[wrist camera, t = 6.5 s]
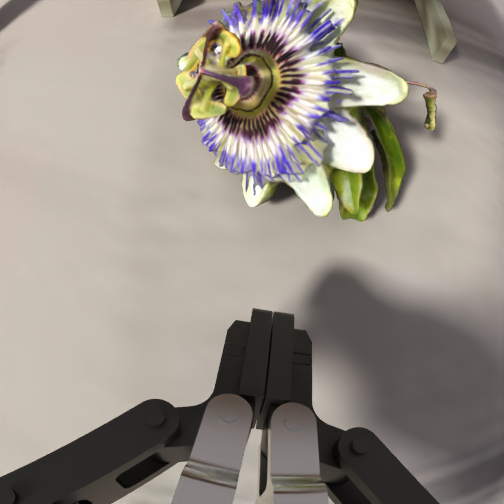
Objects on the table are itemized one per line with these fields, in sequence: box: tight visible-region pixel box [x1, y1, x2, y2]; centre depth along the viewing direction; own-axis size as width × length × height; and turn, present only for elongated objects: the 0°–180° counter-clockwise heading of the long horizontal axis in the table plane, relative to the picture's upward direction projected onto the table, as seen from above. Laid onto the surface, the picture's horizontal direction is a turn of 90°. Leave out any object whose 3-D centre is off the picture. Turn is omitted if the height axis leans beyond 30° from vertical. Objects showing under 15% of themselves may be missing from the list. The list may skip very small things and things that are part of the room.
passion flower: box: [176, 0, 437, 222], centre depth 14 cm, size 11×11×12 cm
